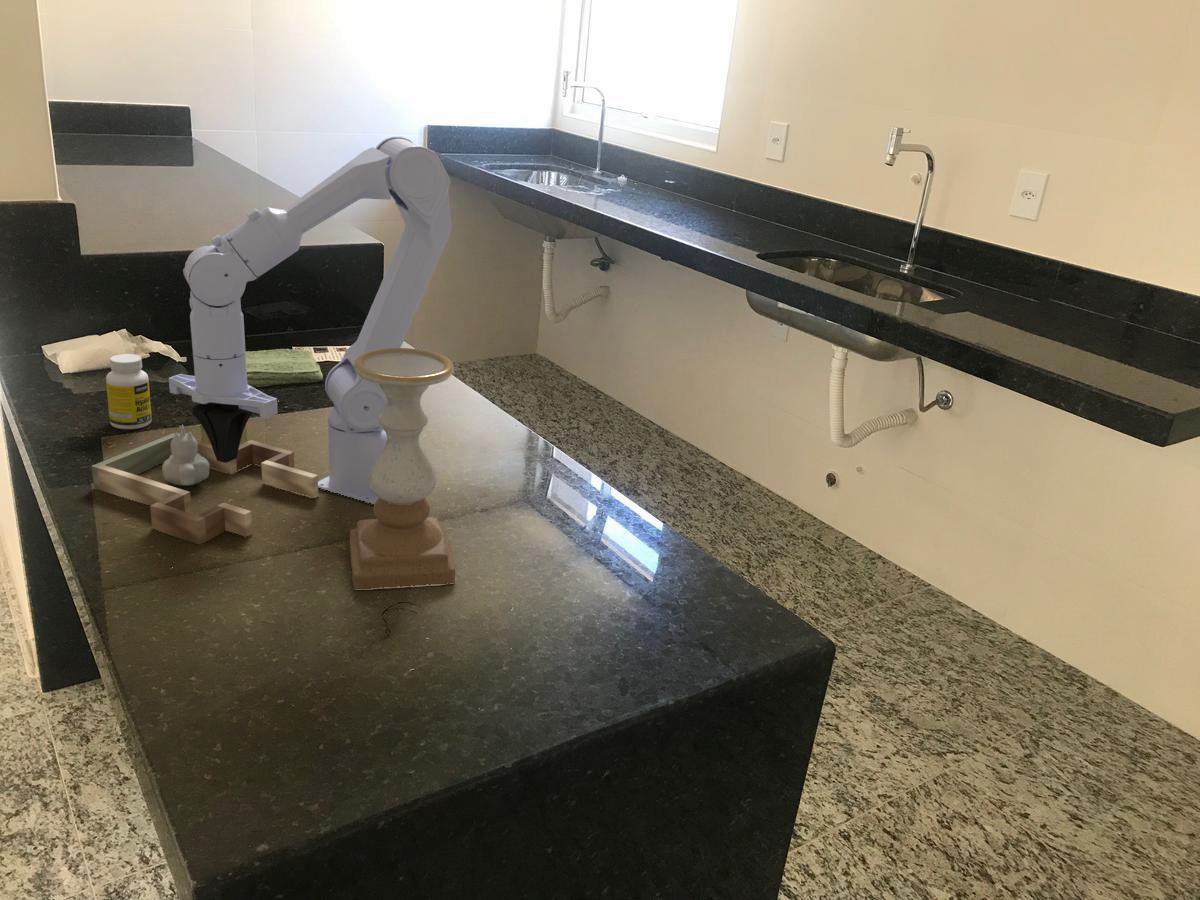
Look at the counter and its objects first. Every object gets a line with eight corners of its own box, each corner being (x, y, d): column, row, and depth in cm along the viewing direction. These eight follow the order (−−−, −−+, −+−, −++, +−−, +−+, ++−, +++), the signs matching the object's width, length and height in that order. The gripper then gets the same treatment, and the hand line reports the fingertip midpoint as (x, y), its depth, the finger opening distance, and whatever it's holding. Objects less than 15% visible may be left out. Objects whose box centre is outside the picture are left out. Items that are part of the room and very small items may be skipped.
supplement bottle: (142, 432, 136) (135, 365, 133) (103, 428, 136) (95, 362, 132) (158, 418, 141) (153, 354, 138) (121, 415, 141) (114, 350, 137)
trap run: (338, 485, 127) (337, 464, 125) (220, 552, 108) (219, 528, 107) (197, 444, 134) (195, 424, 133) (65, 500, 116) (62, 477, 115)
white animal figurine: (208, 472, 126) (204, 415, 123) (212, 494, 121) (208, 435, 118) (162, 476, 124) (157, 418, 121) (165, 499, 119) (159, 438, 116)
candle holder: (353, 591, 104) (351, 379, 94) (349, 542, 113) (347, 345, 104) (456, 585, 107) (464, 379, 97) (443, 538, 116) (450, 346, 107)
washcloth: (327, 385, 162) (326, 367, 160) (213, 392, 154) (212, 373, 152) (310, 361, 172) (310, 343, 171) (203, 367, 164) (202, 348, 163)
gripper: (144, 348, 112) (155, 456, 117) (244, 373, 107) (251, 484, 112) (190, 334, 118) (199, 437, 123) (287, 357, 113) (292, 464, 118)
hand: (227, 459), depth 118 cm, fingers closed
